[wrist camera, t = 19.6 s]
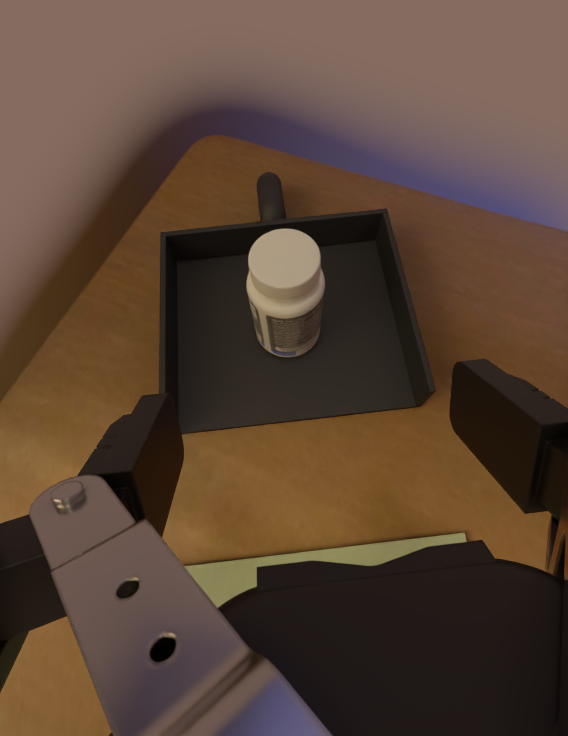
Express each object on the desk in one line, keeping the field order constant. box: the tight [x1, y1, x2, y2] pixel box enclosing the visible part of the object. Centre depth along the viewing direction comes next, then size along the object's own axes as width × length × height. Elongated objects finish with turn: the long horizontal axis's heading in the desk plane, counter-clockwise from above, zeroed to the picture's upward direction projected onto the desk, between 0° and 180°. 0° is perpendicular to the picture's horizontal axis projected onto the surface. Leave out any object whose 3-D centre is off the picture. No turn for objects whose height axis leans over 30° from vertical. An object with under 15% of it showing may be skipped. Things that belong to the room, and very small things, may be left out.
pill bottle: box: [246, 229, 325, 357], centre depth 26 cm, size 5×5×8 cm
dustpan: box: [159, 172, 436, 434], centre depth 30 cm, size 20×17×3 cm
